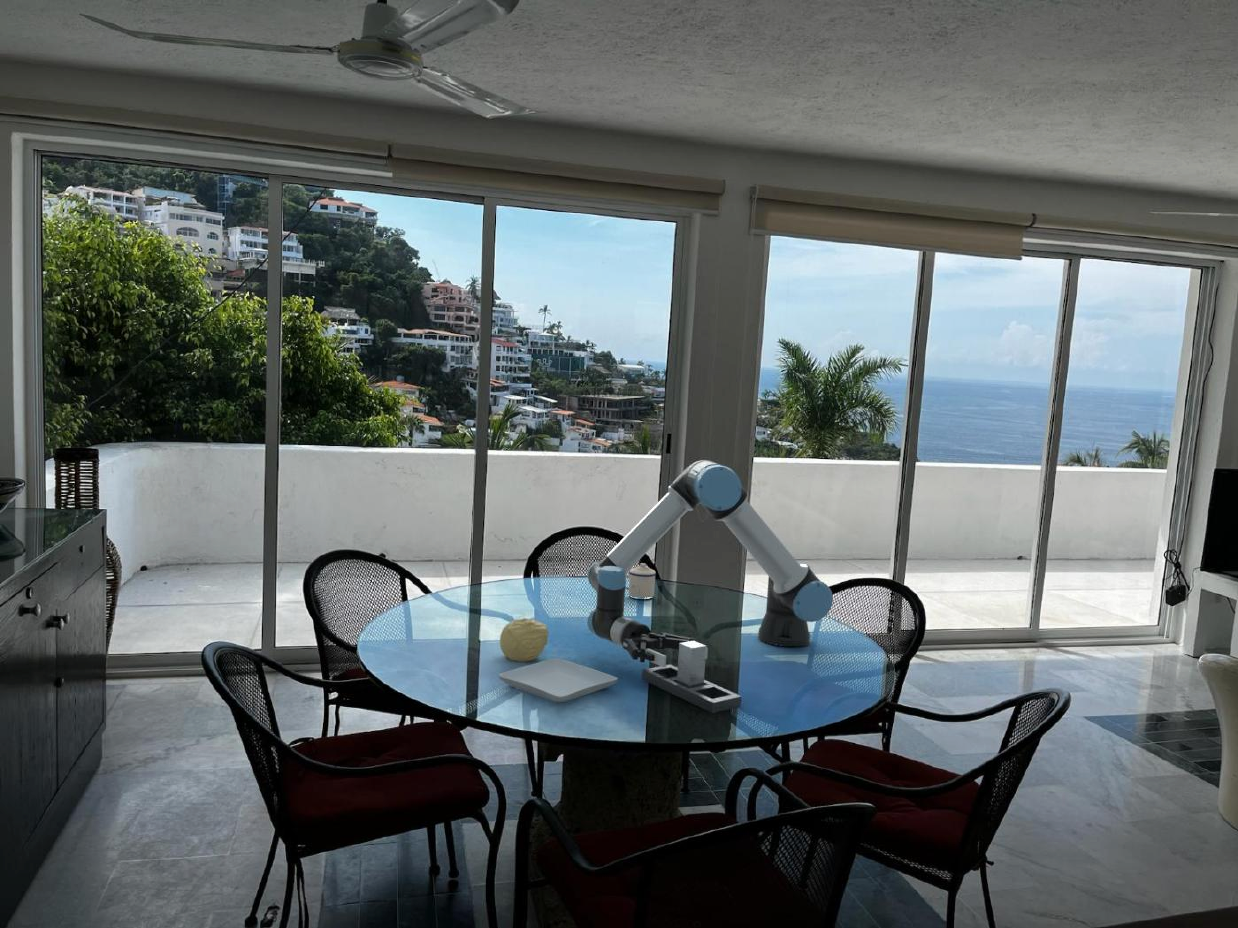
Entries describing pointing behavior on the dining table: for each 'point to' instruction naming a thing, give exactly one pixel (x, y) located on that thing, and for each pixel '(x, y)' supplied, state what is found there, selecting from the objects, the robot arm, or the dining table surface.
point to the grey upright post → (691, 664)
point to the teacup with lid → (641, 581)
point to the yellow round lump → (523, 639)
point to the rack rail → (692, 690)
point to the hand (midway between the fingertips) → (686, 657)
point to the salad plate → (557, 679)
